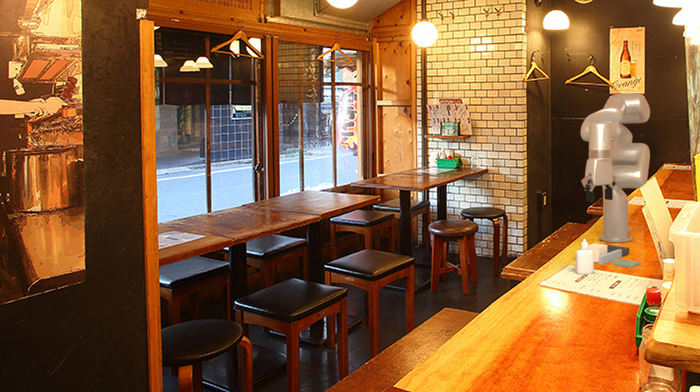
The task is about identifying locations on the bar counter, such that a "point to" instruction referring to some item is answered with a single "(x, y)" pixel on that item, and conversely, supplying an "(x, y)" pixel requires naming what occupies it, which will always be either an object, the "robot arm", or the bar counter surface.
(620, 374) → the bar counter surface
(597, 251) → the cream block
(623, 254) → the tray
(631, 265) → the green coaster
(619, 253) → the channel
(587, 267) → the eye dropper bottle
